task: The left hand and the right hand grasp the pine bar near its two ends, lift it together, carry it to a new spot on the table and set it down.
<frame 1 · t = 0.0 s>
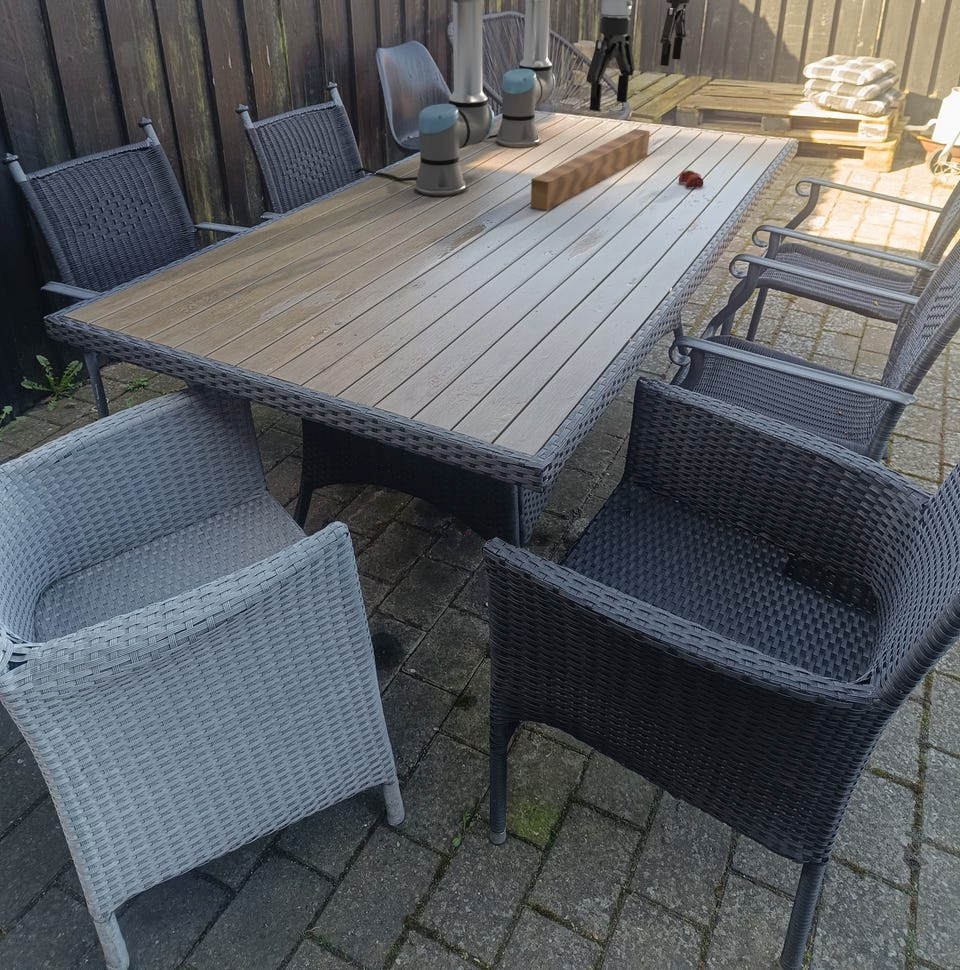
left hand: (608, 106, 226), 28 cm above the table, tool pointing down, fingers open, 13 cm apart
right hand: (670, 62, 280), 28 cm above the table, tool pointing down, fingers open, 13 cm apart
dark red rounded lump: (690, 185, 262), on the table
bar: (593, 179, 268), on the table
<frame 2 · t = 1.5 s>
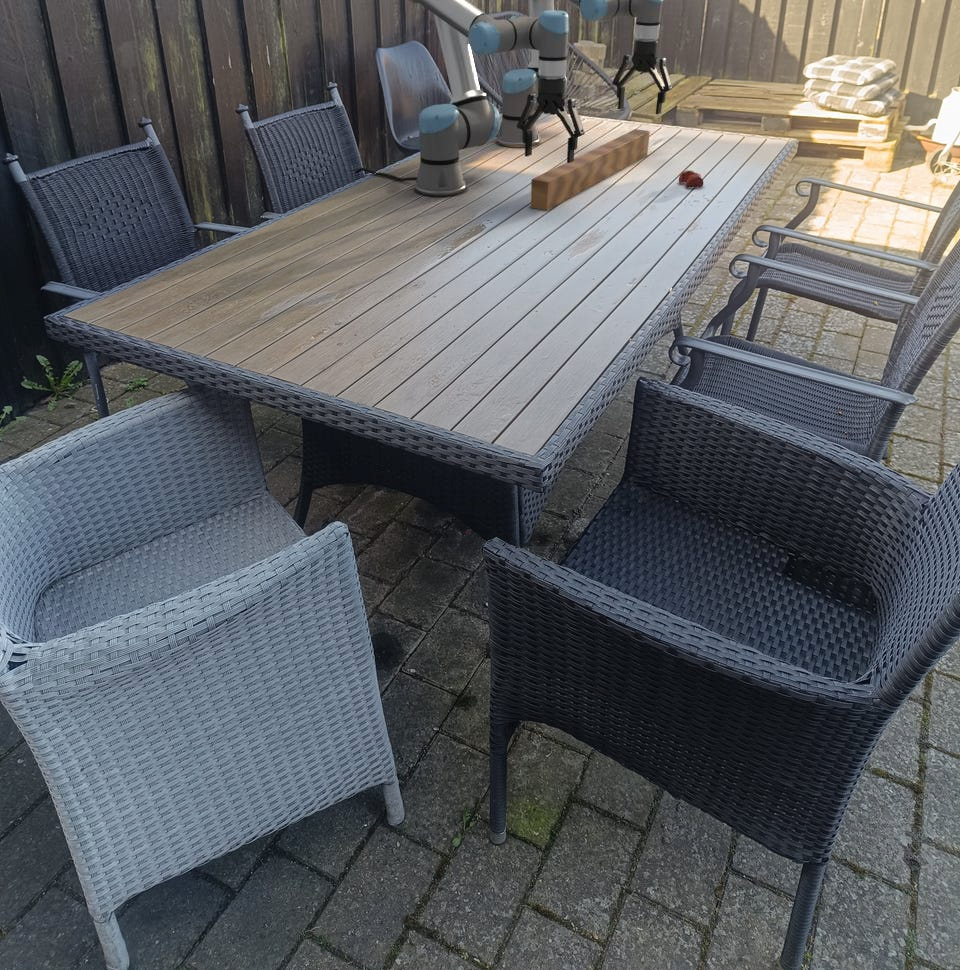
left hand: (549, 158, 239), 13 cm above the table, tool pointing down, fingers open, 13 cm apart
right hand: (639, 111, 280), 15 cm above the table, tool pointing down, fingers open, 13 cm apart
nothing on the table moved.
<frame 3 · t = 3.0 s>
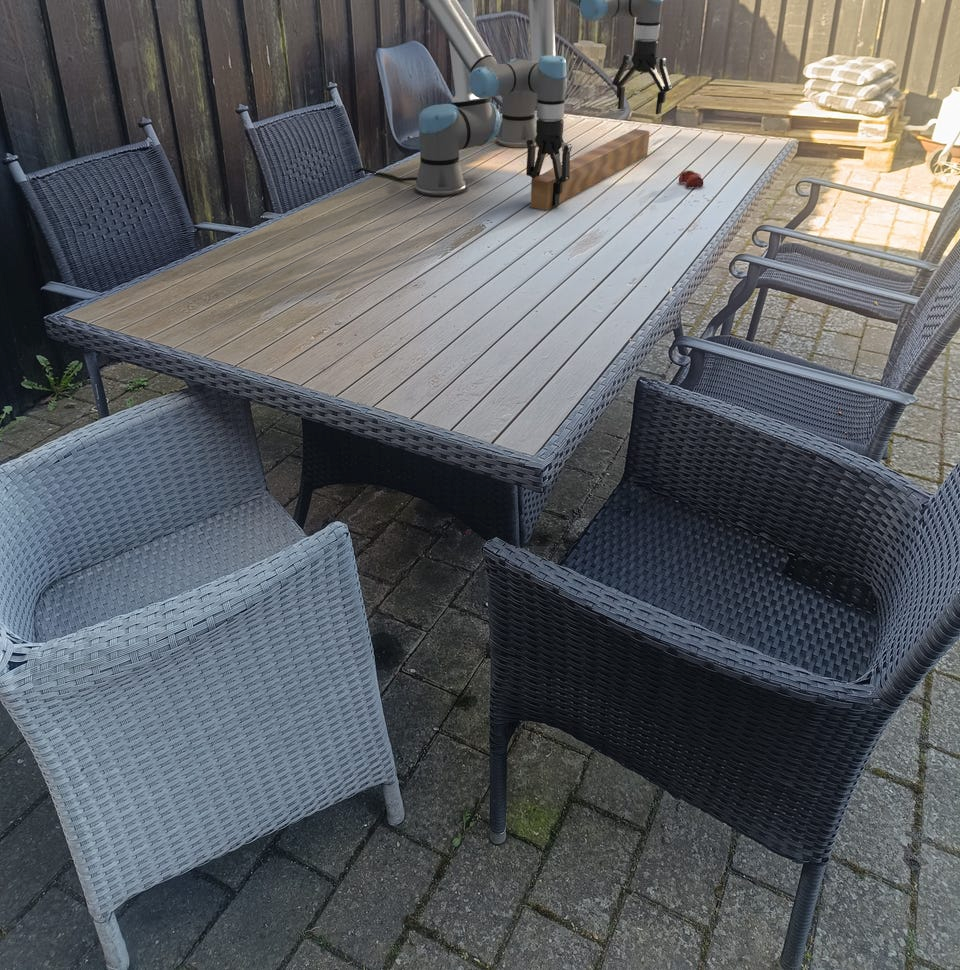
left hand: (546, 203, 246), 1 cm above the table, tool pointing down, fingers closed on bar, 5 cm apart
right hand: (639, 111, 280), 15 cm above the table, tool pointing down, fingers open, 13 cm apart
bar: (593, 179, 268), on the table, touching left hand
everything else where it was.
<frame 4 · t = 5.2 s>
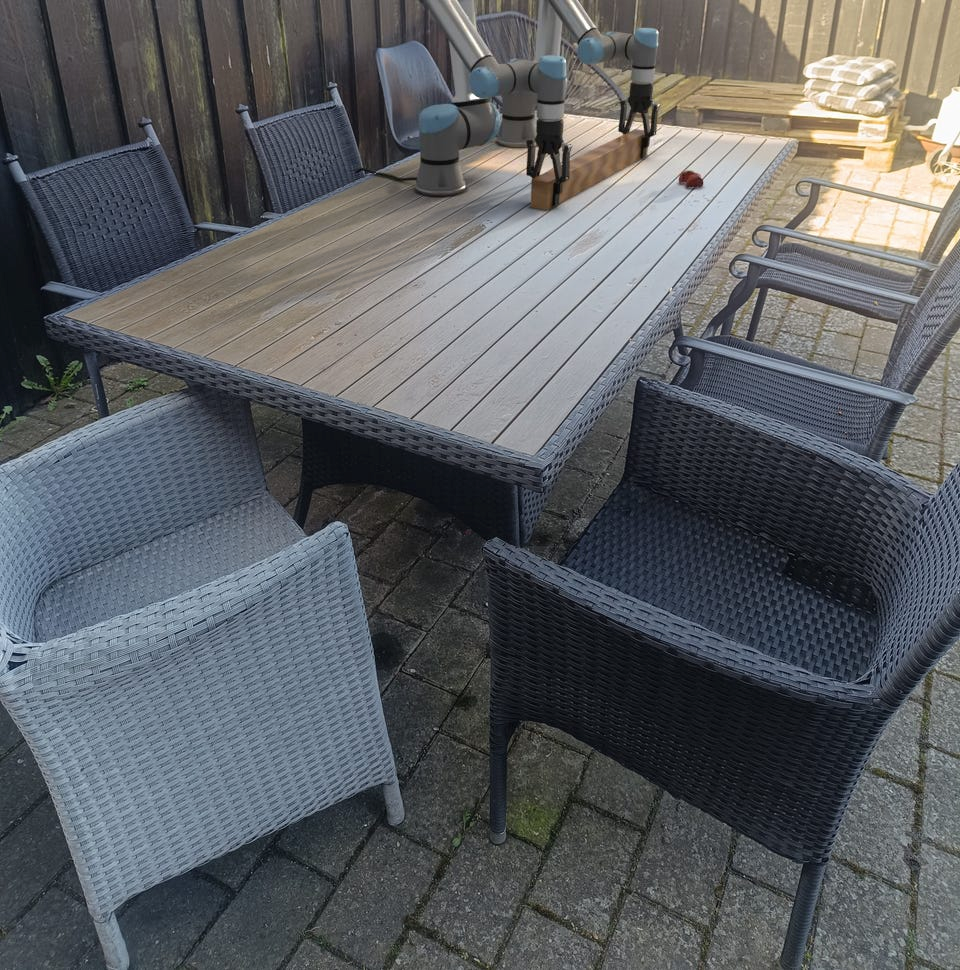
left hand: (546, 203, 246), 1 cm above the table, tool pointing down, fingers closed on bar, 5 cm apart
right hand: (634, 155, 289), 1 cm above the table, tool pointing down, fingers closed on bar, 5 cm apart
bar: (593, 179, 268), on the table, touching left hand, right hand
everything else where it was.
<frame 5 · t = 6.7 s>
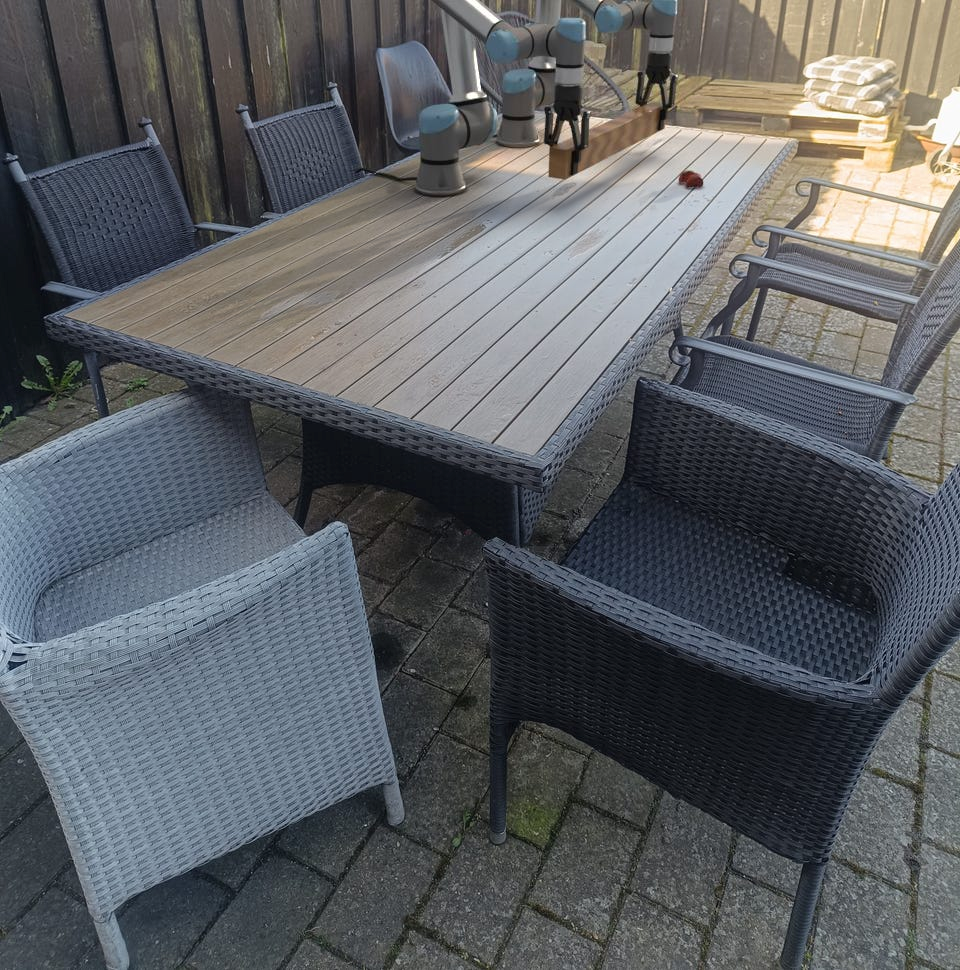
left hand: (564, 172, 240), 10 cm above the table, tool pointing down, fingers closed on bar, 5 cm apart
right hand: (652, 128, 282), 10 cm above the table, tool pointing down, fingers closed on bar, 5 cm apart
bar: (611, 150, 261), point 9 cm above the table, touching left hand, right hand
everything else where it was.
when the left hand's fingers open (2 cm above the table, at t = 8.6 s): bar drops 1 cm, on the table.
when the right hand's fingers open (2 cm above the table, at t = 8.6 s): bar drops 1 cm, on the table.
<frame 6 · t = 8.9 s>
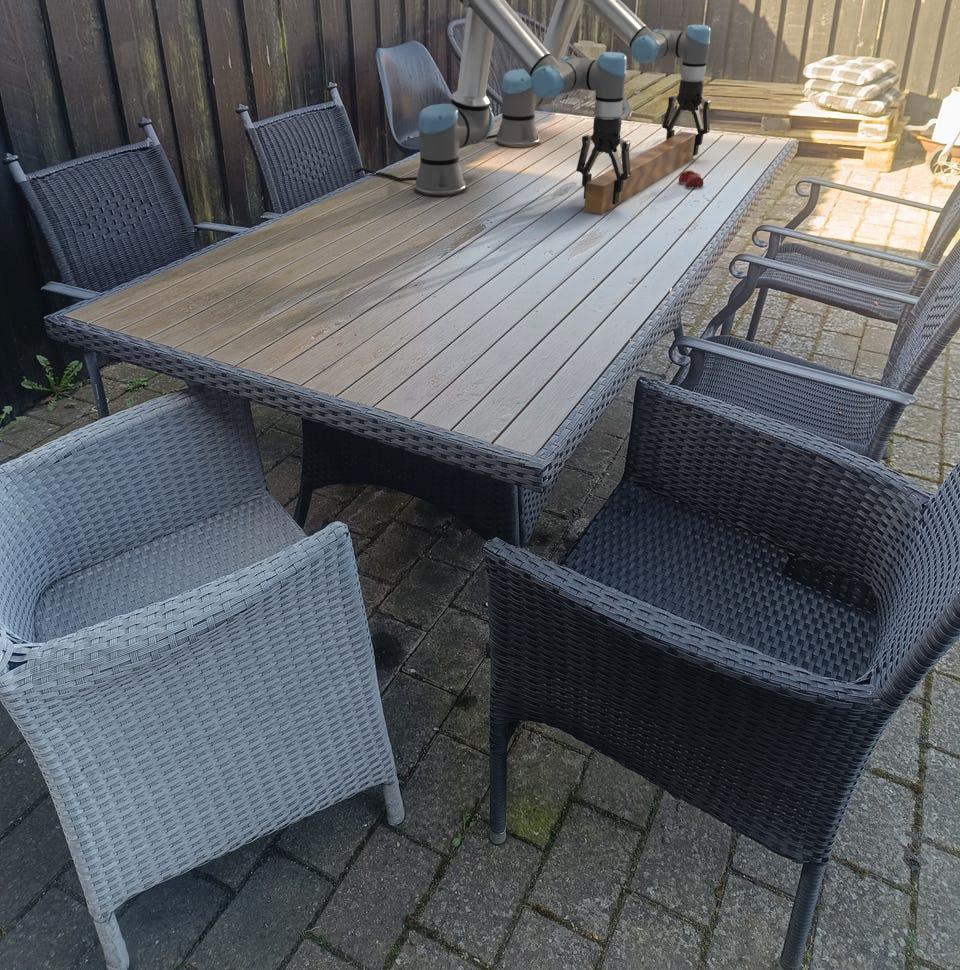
left hand: (601, 200, 242), 2 cm above the table, tool pointing down, fingers open, 8 cm apart
right hand: (682, 152, 284), 2 cm above the table, tool pointing down, fingers open, 8 cm apart
bar: (643, 182, 265), on the table
everything else where it was.
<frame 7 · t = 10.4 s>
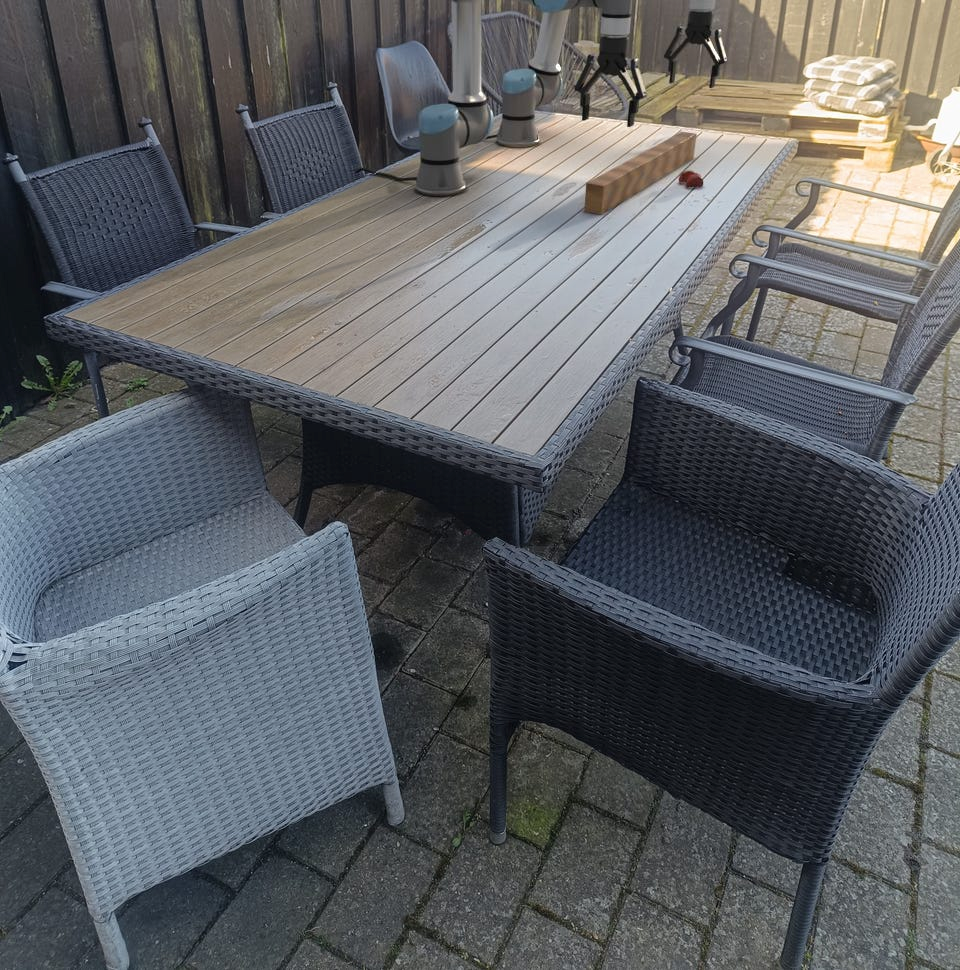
left hand: (607, 123, 230), 23 cm above the table, tool pointing down, fingers open, 13 cm apart
right hand: (691, 85, 272), 23 cm above the table, tool pointing down, fingers open, 13 cm apart
nothing on the table moved.
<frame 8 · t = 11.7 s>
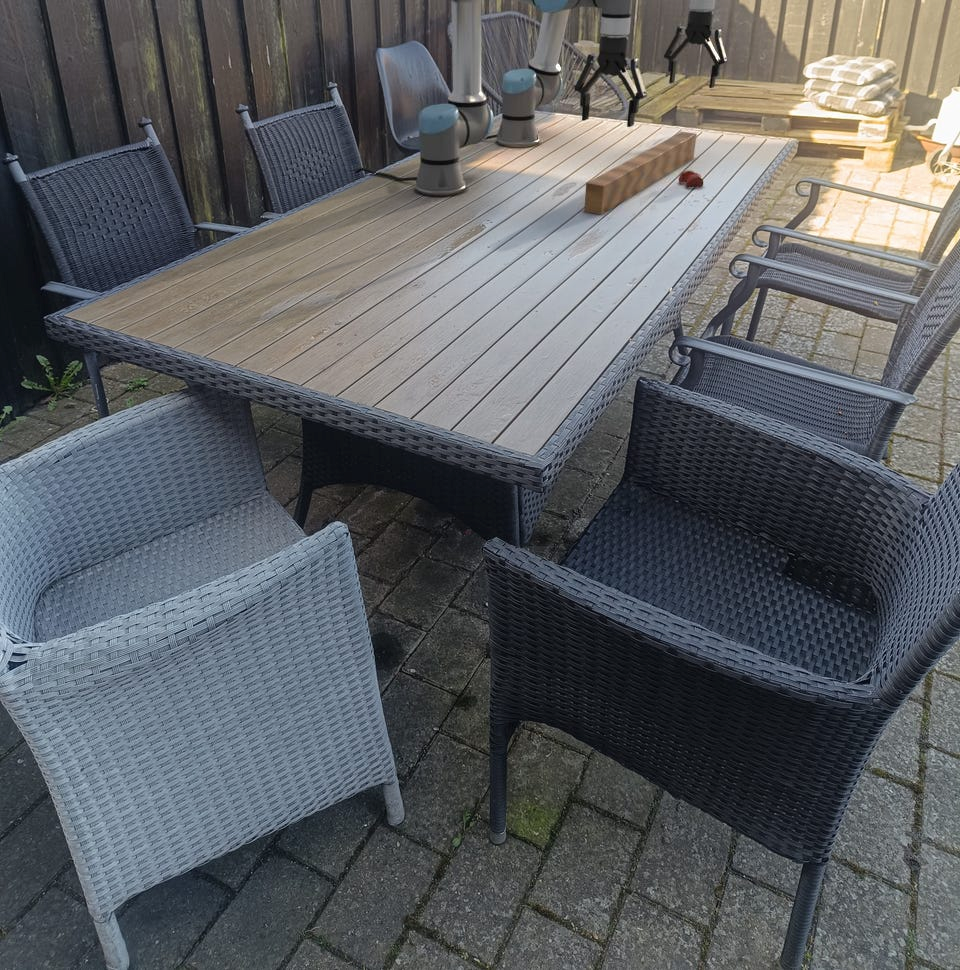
left hand: (607, 122, 230), 23 cm above the table, tool pointing down, fingers open, 13 cm apart
right hand: (691, 85, 272), 23 cm above the table, tool pointing down, fingers open, 13 cm apart
nothing on the table moved.
at the end: bar inside the target area (0.2 cm from its centre), on the table; bar tilted 0°; bar never tilted more than 2° during the clip; both hands held the bar at the same time; the left hand is holding nothing; the right hand is holding nothing; bar at rest at the end (0.0 cm/s) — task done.
